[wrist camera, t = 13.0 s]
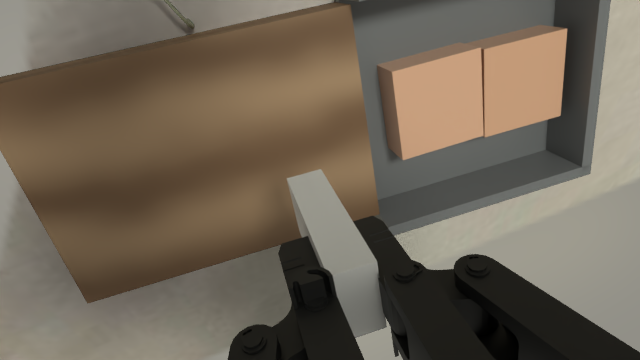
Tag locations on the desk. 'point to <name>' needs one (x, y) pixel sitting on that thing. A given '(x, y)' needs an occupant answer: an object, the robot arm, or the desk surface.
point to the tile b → (522, 77)
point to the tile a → (432, 99)
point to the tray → (482, 152)
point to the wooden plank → (189, 145)
